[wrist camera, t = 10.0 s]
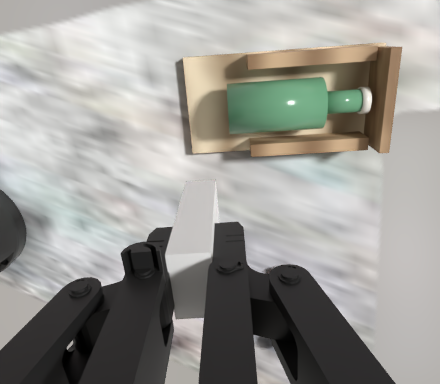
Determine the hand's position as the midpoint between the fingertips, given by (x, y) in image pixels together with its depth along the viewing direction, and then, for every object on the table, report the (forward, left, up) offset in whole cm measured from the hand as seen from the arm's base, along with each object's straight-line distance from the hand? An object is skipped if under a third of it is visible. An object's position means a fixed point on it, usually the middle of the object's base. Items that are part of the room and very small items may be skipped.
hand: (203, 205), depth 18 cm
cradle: (+8, +1, -26) cm, 27 cm away
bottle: (+1, +1, -23) cm, 23 cm away
